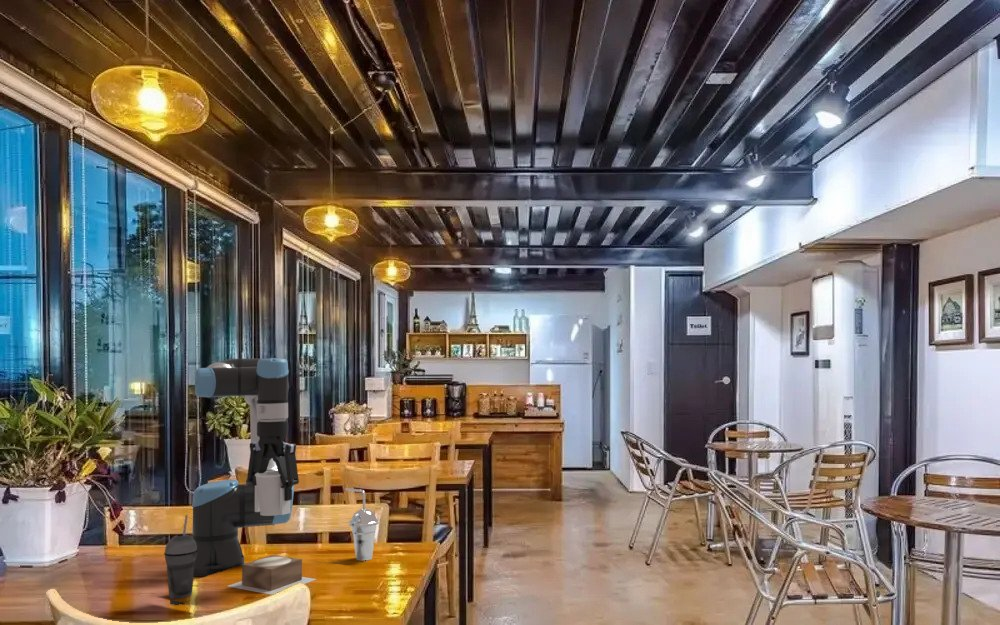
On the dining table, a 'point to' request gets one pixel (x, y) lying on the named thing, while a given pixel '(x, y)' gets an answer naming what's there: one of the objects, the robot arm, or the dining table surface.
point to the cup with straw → (363, 530)
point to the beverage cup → (180, 565)
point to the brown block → (271, 572)
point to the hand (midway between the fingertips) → (272, 512)
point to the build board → (239, 585)
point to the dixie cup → (269, 492)
